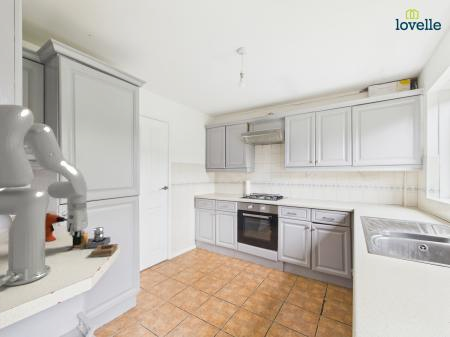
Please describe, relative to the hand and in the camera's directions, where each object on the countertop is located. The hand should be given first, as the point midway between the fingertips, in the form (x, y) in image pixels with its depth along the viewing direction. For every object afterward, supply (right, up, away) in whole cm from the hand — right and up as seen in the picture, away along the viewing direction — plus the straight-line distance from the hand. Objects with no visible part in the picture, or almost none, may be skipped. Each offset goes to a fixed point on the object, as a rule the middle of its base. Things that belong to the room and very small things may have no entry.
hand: (77, 244), depth 99 cm
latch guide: (-1, -2, +5) cm, 6 cm away
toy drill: (-18, -3, +10) cm, 21 cm away
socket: (+7, -2, +5) cm, 9 cm away
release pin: (-1, -2, +4) cm, 5 cm away
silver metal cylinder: (+7, -2, +5) cm, 9 cm away
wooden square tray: (+16, -2, -4) cm, 17 cm away
